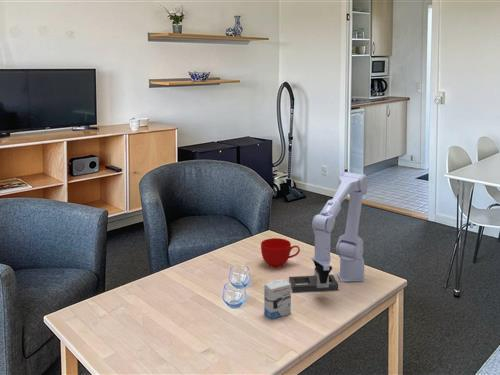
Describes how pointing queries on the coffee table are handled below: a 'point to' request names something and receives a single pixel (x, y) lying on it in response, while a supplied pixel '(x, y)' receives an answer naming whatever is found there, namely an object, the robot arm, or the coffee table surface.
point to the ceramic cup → (277, 251)
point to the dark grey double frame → (310, 284)
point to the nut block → (317, 280)
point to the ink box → (277, 298)
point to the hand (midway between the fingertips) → (321, 280)
